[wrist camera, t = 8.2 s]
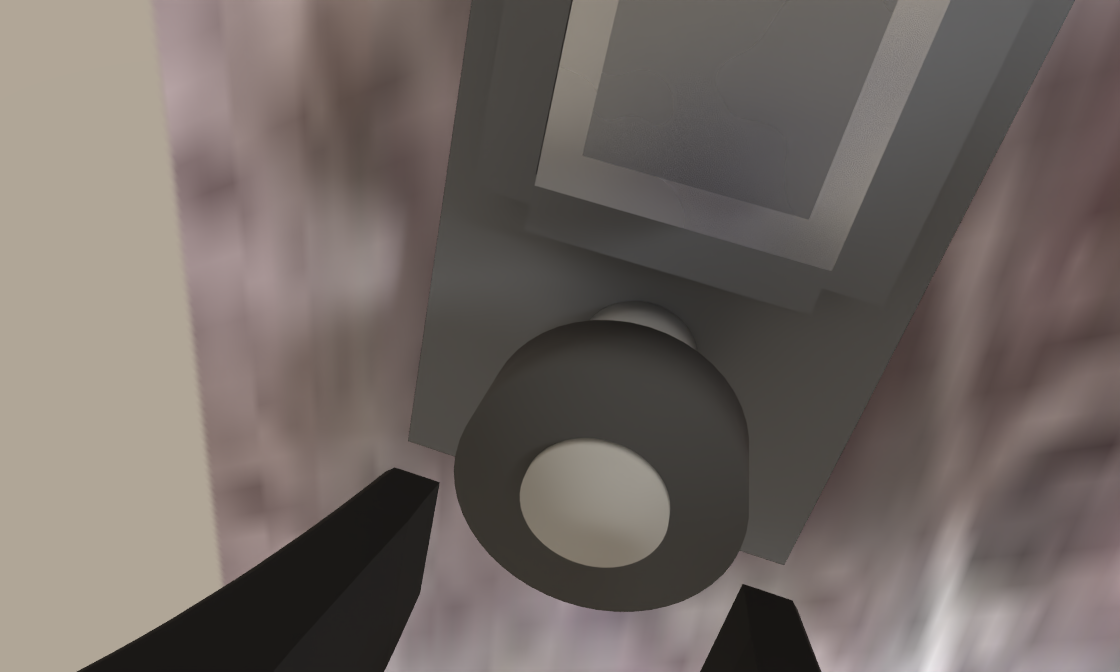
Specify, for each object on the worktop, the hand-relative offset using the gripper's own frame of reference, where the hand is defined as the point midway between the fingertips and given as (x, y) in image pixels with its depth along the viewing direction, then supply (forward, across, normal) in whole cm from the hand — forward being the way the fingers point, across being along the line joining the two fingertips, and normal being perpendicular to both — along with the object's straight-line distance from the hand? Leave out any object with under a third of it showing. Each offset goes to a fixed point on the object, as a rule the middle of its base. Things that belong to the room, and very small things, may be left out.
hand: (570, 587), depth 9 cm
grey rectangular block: (+6, 0, -7) cm, 9 cm away
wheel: (+3, 0, 0) cm, 3 cm away
